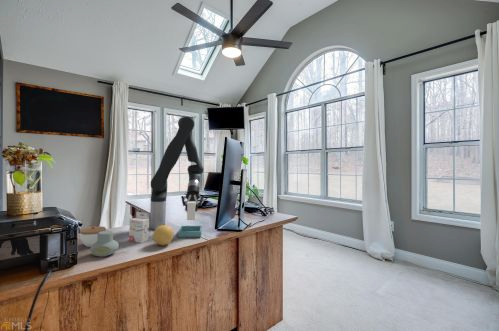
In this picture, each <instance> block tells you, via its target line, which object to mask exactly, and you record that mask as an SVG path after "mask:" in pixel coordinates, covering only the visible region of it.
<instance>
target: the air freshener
mask: <svg viewBox="0 0 499 331" xmlns="http://www.w3.org/2000/svg"><path fill="white" fill-rule="evenodd" d="M119 247H120V245H119V242H118V241H117V240H115V239H114V231H112V230H111V229H110V230H108V229H106V231H101V232H99V233H98V238H97V242H96V243H94V244H93V245H92V246H91V247H90V249H89V251H90V253H91V254H92V255H93V256H96V257H99V258H103V257H108V256H111V255H113V254H114V253H116V252H117V251H118V250H119Z"/></svg>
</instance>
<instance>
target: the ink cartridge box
mask: <svg viewBox="0 0 499 331" xmlns="http://www.w3.org/2000/svg"><path fill="white" fill-rule="evenodd" d="M135 212H136V213H135V214H136V215H135V217H133V218H130V219H129V232H128V233H129V236H128V242H135V243H140V244H143V243H145V242H147V241H148V240H149V214H150V213H148V212H140V211H135Z"/></svg>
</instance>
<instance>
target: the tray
mask: <svg viewBox="0 0 499 331" xmlns="http://www.w3.org/2000/svg"><path fill="white" fill-rule="evenodd" d="M202 231H203V225H181V226H180V228H179V230H177V239H185V238H184V237H202Z"/></svg>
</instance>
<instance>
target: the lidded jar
mask: <svg viewBox="0 0 499 331" xmlns="http://www.w3.org/2000/svg"><path fill="white" fill-rule="evenodd" d="M106 230H107V229H106V226H101V225H99V226H95V225H92V226H88V227H84V228H81V229H80V230H79V238H80V242H81V244H83V245H84V246H85V247H87V248H89V247H90V248H91V246H92V245H93V244H94V243H96V242H97V238H98V233H99V232H101V231H106Z"/></svg>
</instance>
